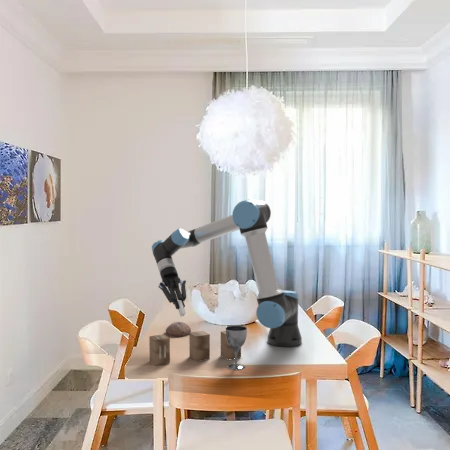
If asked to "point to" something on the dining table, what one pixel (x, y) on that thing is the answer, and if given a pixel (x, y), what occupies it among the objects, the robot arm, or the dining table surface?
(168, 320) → the dining table surface
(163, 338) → the marked block 1
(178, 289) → the robot arm
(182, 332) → the decorative stone
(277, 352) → the dining table surface
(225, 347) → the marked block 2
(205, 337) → the unmarked block
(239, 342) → the wine glass
